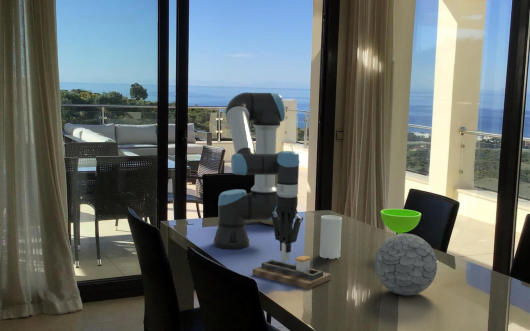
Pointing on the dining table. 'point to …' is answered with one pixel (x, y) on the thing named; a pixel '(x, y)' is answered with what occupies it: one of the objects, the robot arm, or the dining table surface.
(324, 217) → the cup
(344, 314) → the dining table surface
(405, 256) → the decorative sphere
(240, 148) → the robot arm
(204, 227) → the dining table surface
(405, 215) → the wineglass
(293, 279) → the wooden tray
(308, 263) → the fader knob
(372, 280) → the dining table surface
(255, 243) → the dining table surface
